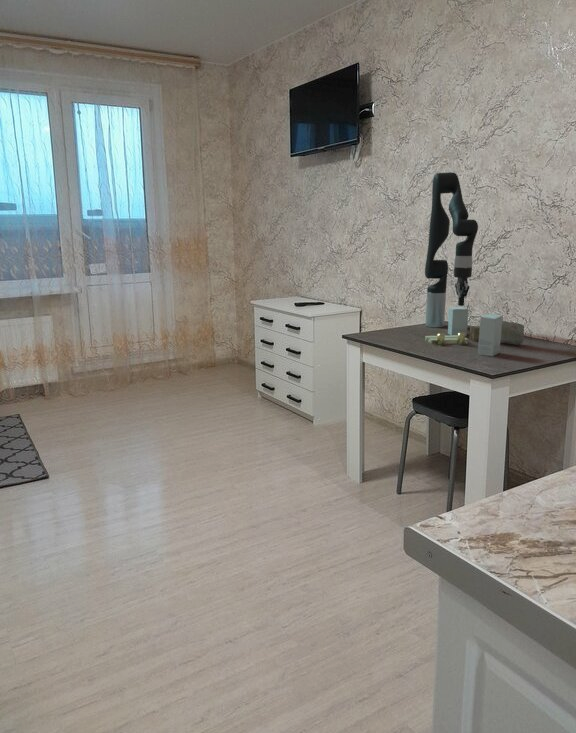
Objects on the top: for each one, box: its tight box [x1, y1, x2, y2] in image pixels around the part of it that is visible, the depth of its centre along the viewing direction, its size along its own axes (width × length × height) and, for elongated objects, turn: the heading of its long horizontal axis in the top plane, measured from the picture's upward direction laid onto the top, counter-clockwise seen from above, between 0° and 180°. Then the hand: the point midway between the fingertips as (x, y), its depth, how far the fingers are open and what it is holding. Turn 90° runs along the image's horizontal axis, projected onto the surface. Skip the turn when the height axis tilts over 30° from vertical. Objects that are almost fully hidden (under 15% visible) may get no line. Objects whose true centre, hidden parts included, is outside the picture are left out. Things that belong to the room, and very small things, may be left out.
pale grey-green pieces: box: [424, 334, 469, 345], centre depth 265 cm, size 10×16×2 cm, turn 94°
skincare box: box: [477, 313, 504, 357], centre depth 239 cm, size 8×7×16 cm
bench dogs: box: [436, 332, 466, 346], centre depth 258 cm, size 3×12×5 cm, turn 95°
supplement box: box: [447, 306, 469, 337], centre depth 280 cm, size 7×7×13 cm
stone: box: [500, 320, 525, 346], centre depth 257 cm, size 14×6×10 cm, turn 30°
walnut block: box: [468, 325, 480, 342], centre depth 268 cm, size 5×5×6 cm
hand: (461, 305), depth 266 cm, fingers closed
